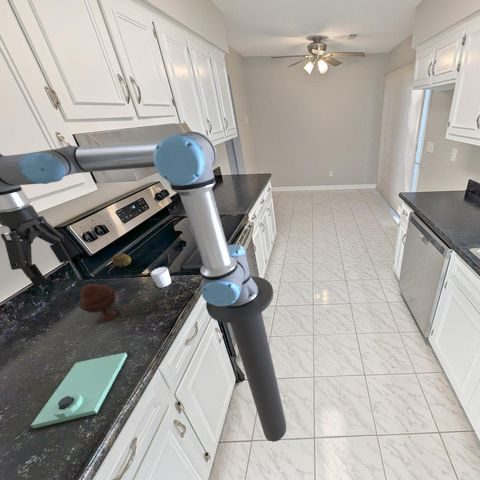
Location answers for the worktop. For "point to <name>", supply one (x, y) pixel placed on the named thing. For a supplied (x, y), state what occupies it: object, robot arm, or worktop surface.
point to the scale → (82, 390)
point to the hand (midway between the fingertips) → (54, 272)
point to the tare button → (65, 402)
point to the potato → (121, 260)
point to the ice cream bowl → (98, 300)
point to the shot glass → (161, 276)
